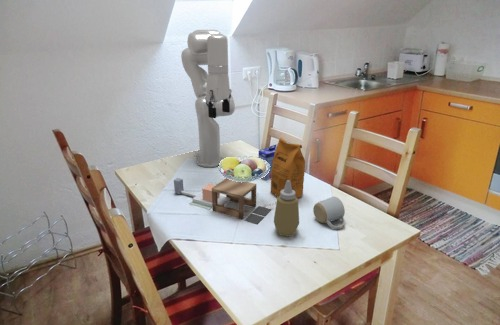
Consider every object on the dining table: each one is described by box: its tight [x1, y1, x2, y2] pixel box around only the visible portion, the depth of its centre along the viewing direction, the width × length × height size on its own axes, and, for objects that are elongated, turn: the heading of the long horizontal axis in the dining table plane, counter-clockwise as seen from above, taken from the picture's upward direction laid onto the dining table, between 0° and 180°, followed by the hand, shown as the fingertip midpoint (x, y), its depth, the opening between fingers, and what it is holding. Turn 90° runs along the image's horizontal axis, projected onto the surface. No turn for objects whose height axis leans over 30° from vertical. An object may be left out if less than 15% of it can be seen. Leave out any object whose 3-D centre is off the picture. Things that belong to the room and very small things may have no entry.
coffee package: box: [270, 137, 306, 198], centre depth 133 cm, size 10×12×22 cm
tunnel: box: [212, 177, 257, 220], centre depth 125 cm, size 12×10×9 cm
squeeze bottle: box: [273, 180, 300, 237], centre depth 110 cm, size 8×8×18 cm
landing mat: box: [188, 200, 213, 210], centre depth 132 cm, size 9×10×1 cm
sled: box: [173, 177, 231, 208], centre depth 132 cm, size 22×7×6 cm, turn 62°
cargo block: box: [201, 183, 221, 202], centre depth 130 cm, size 4×4×4 cm
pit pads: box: [243, 205, 272, 225], centre depth 123 cm, size 5×11×1 cm, turn 152°
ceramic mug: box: [312, 196, 346, 230], centre depth 118 cm, size 11×8×8 cm
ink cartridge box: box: [258, 143, 278, 181], centre depth 151 cm, size 10×6×14 cm, turn 130°
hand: (219, 114), depth 138 cm, fingers open, 9 cm apart
